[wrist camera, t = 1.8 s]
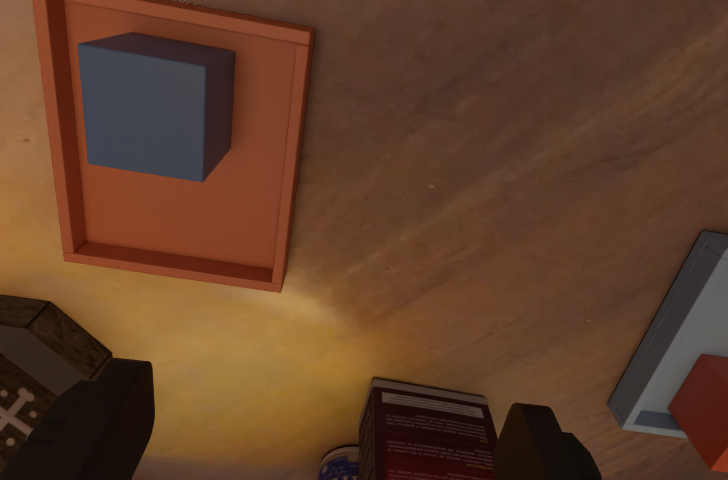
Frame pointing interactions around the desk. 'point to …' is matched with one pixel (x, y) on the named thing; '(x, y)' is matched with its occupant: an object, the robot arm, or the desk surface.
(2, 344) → the mug
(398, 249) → the desk surface
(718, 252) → the gray tray
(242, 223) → the terracotta tray
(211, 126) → the blue cube
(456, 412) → the supplement box
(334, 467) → the pill bottle
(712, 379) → the rust cube
